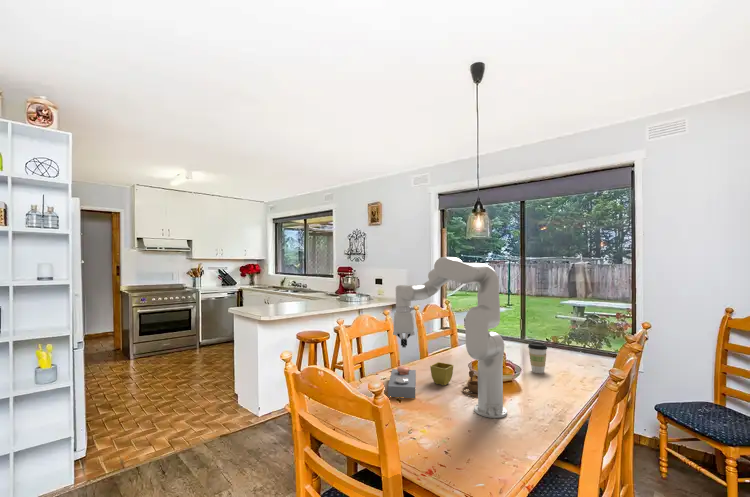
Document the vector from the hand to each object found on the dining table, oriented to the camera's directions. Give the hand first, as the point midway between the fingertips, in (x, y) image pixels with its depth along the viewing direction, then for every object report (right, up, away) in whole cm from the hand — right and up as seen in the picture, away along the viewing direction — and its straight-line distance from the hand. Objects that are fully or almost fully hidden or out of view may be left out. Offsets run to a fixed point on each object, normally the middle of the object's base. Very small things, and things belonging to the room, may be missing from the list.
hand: (404, 347), depth 176 cm
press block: (-1, -18, -7) cm, 19 cm away
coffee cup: (+76, -19, +19) cm, 80 cm away
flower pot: (+19, -18, -1) cm, 26 cm away
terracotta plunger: (0, -17, 0) cm, 17 cm away
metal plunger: (-2, -17, -14) cm, 22 cm away
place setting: (+34, -18, -10) cm, 40 cm away
